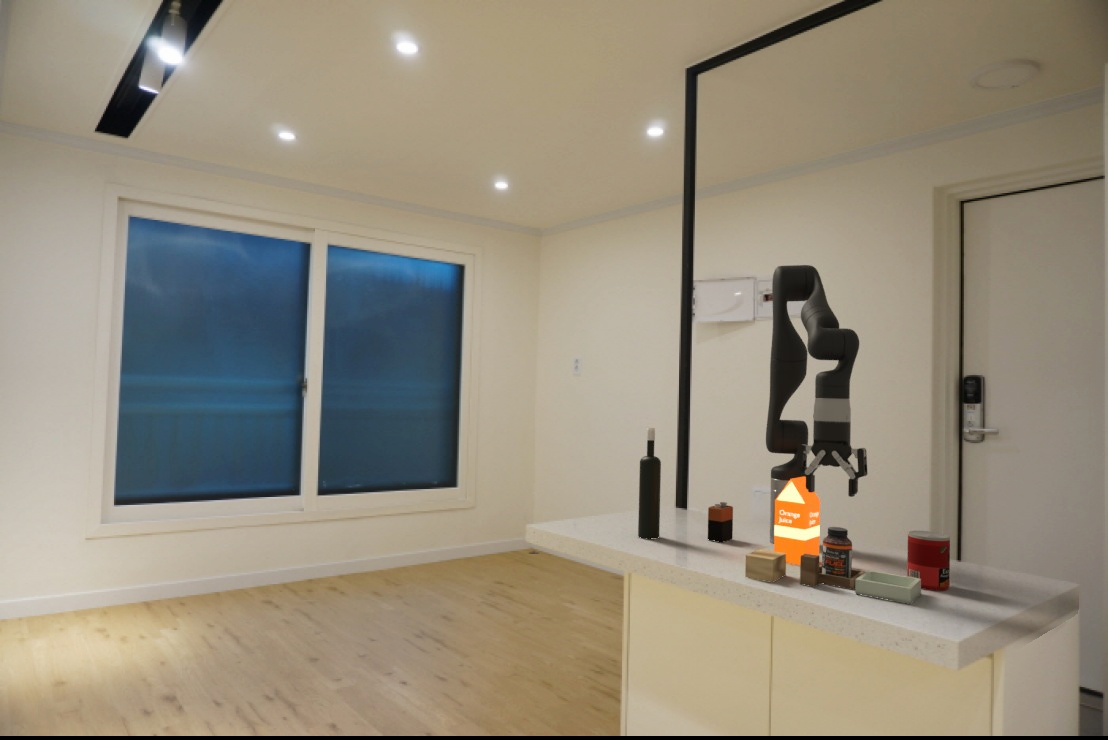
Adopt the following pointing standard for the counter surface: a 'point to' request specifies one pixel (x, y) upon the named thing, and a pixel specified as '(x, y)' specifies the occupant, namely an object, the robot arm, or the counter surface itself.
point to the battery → (720, 522)
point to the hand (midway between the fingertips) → (831, 494)
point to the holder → (840, 578)
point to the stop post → (809, 569)
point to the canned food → (929, 559)
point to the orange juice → (797, 521)
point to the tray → (888, 586)
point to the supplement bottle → (837, 553)
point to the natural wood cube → (765, 565)
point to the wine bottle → (649, 491)
